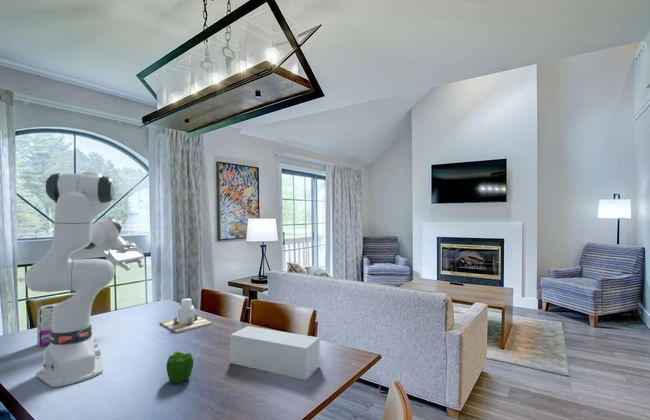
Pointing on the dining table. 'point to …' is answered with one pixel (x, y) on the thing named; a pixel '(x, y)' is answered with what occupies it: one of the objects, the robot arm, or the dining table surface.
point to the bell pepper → (179, 367)
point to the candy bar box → (44, 324)
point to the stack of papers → (275, 351)
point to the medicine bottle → (186, 310)
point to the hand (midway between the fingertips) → (135, 268)
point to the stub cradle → (177, 327)
